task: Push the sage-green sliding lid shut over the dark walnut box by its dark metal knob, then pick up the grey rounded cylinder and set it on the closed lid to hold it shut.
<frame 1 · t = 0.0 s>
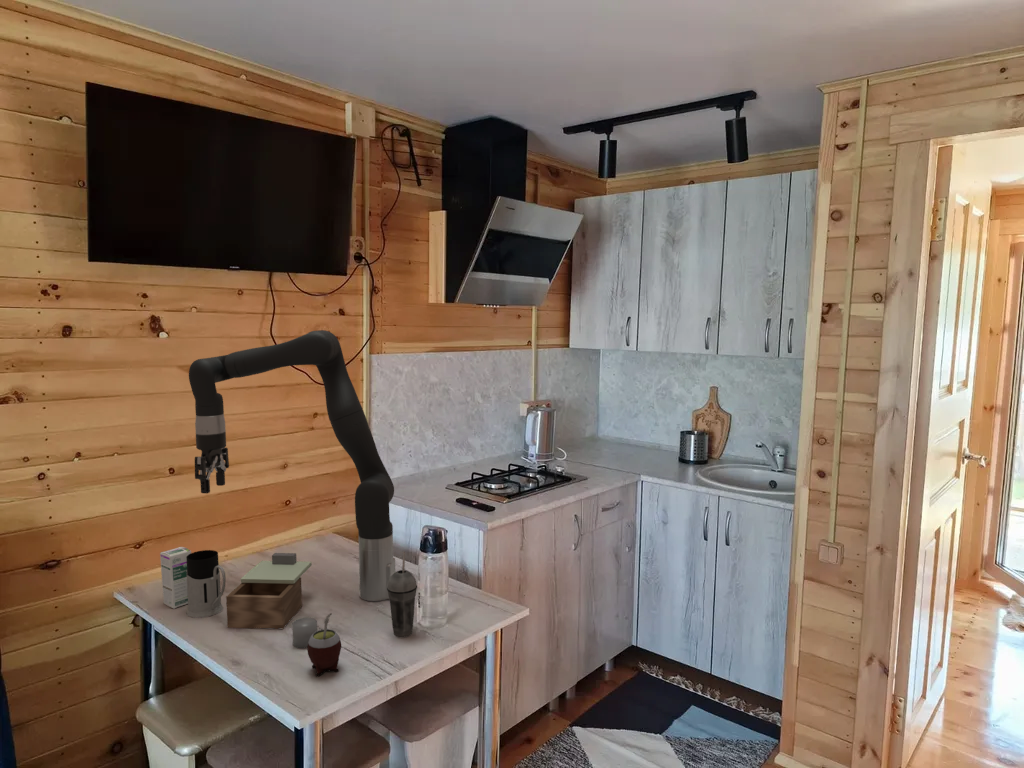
hand: (213, 489, 187), 29 cm above the table, tool pointing down, fingers open, 8 cm apart
grey rounded cylinder: (305, 642, 161), on the table
syrup box: (178, 603, 183), on the table
storage box: (266, 616, 174), on the table
lid: (277, 567, 181), point 10 cm above the table, slide at -8.0 cm
beverage cup: (402, 633, 165), on the table
glass holder: (210, 613, 177), on the table
mate gourd: (326, 671, 148), on the table
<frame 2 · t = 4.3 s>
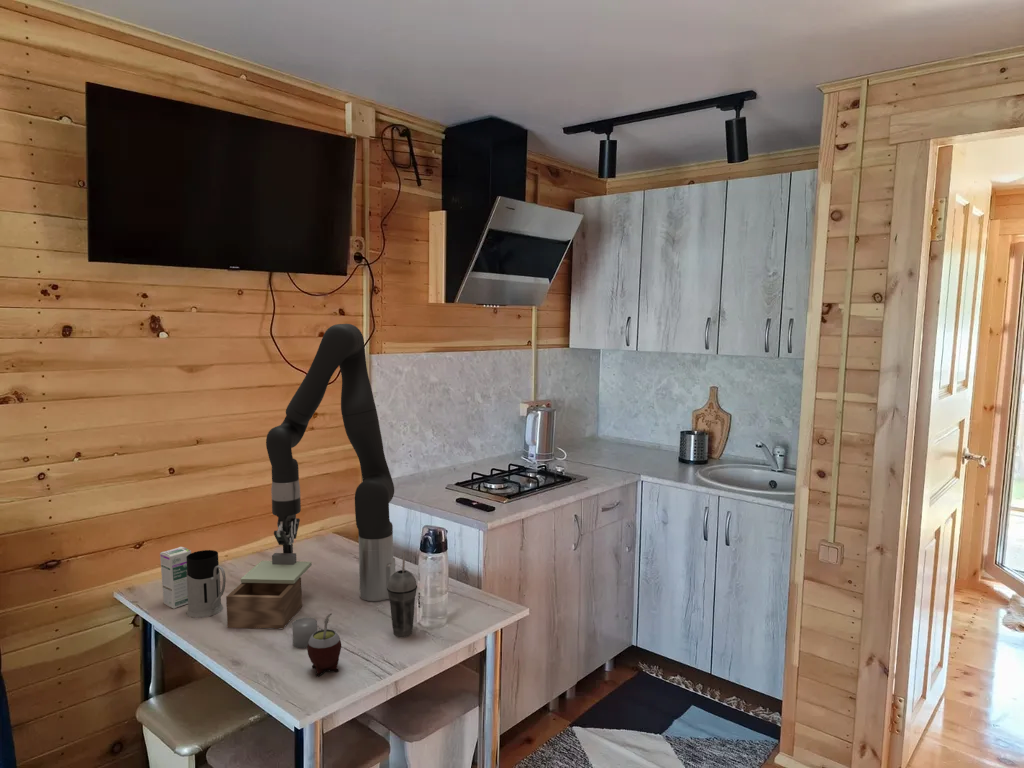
hand: (288, 557, 189), 10 cm above the table, tool pointing down, fingers closed
lid: (277, 567, 181), point 10 cm above the table, slide at -8.0 cm, touching gripper
everything else where it was.
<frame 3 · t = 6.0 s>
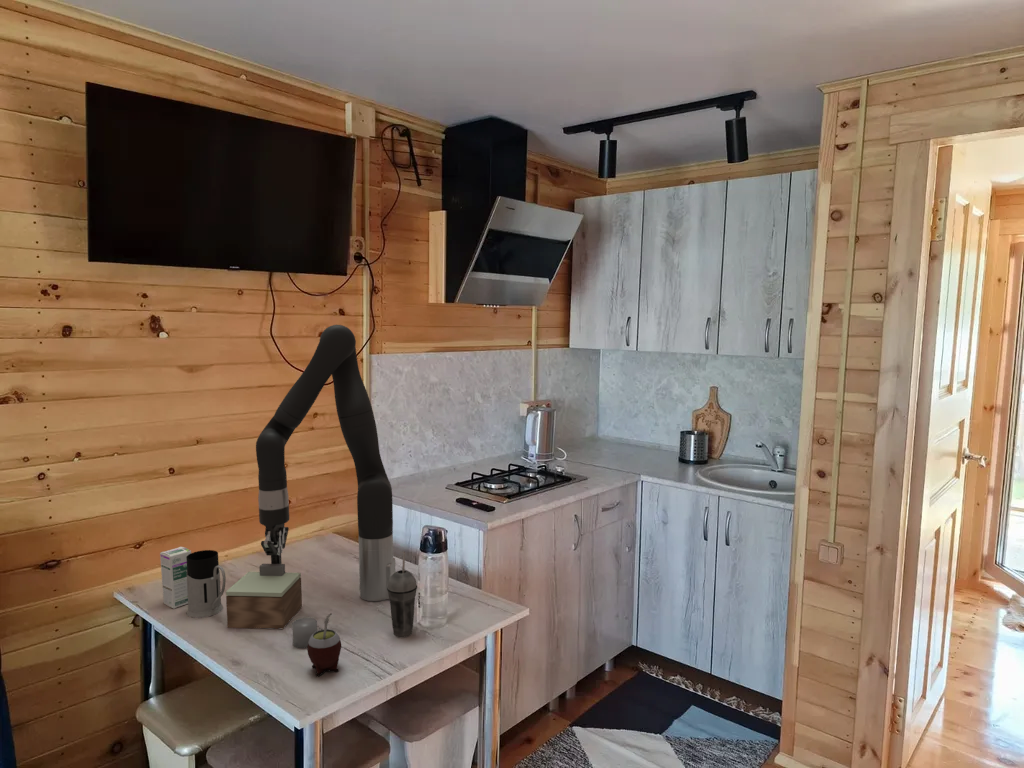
hand: (276, 567, 181), 10 cm above the table, tool pointing down, fingers closed
lid: (264, 579, 173), point 10 cm above the table, slide at 0.1 cm, touching gripper
everything else where it was.
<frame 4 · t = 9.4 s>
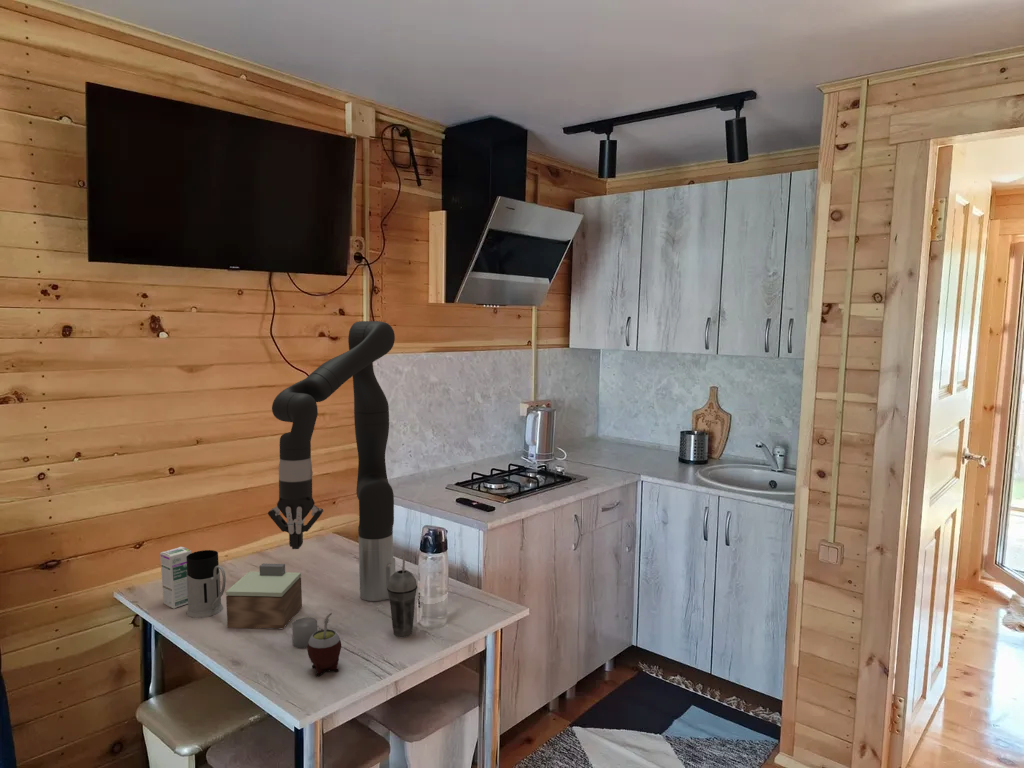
hand: (296, 548, 162), 22 cm above the table, tool pointing down, fingers closed
lid: (264, 578, 173), point 10 cm above the table, slide at 0.0 cm
everything else where it was.
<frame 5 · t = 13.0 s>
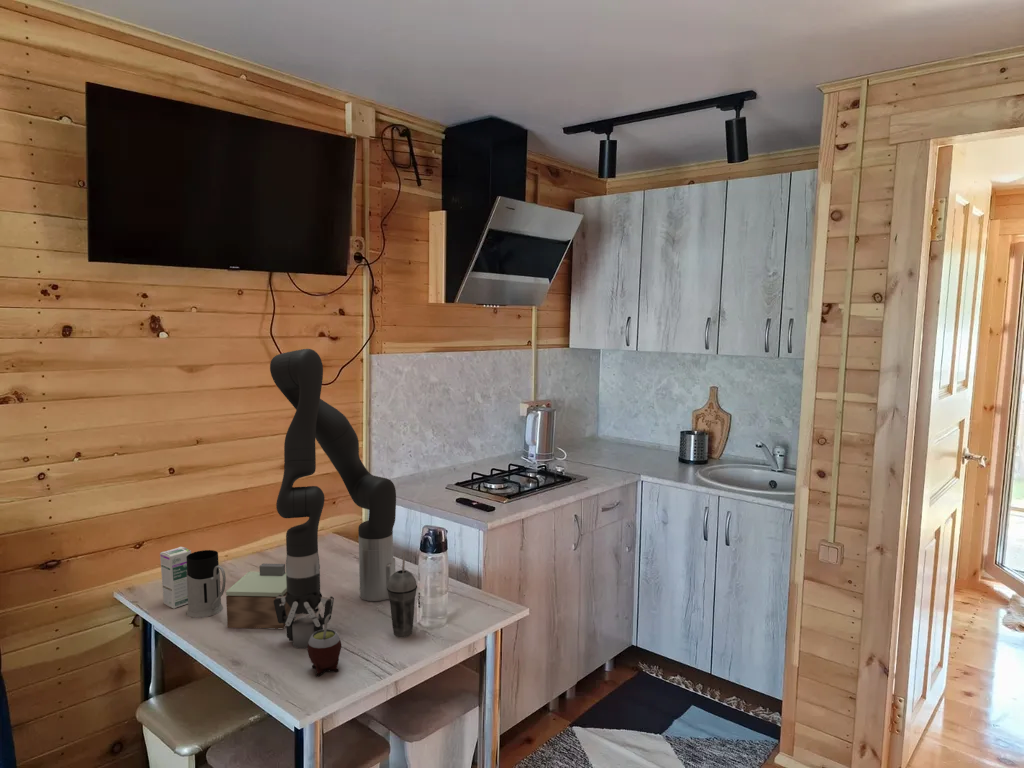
hand: (305, 639, 161), 1 cm above the table, tool pointing down, fingers closed on grey rounded cylinder, 5 cm apart
grey rounded cylinder: (305, 642, 161), on the table, touching gripper
everything else where it was.
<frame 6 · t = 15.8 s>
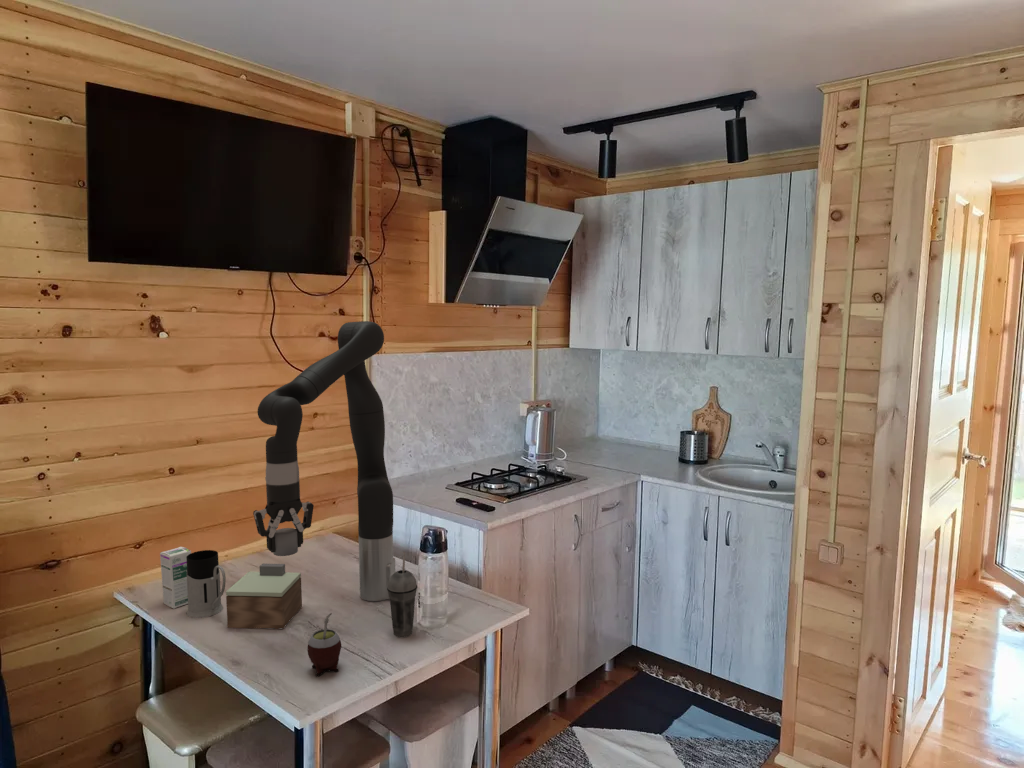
hand: (285, 548, 163), 21 cm above the table, tool pointing down, fingers closed on grey rounded cylinder, 5 cm apart
grey rounded cylinder: (285, 551, 163), point 21 cm above the table, touching gripper
everything else where it was.
when the fingers open (11 cm above the table, at t = 18.9 s): grey rounded cylinder drops 1 cm, resting on lid.
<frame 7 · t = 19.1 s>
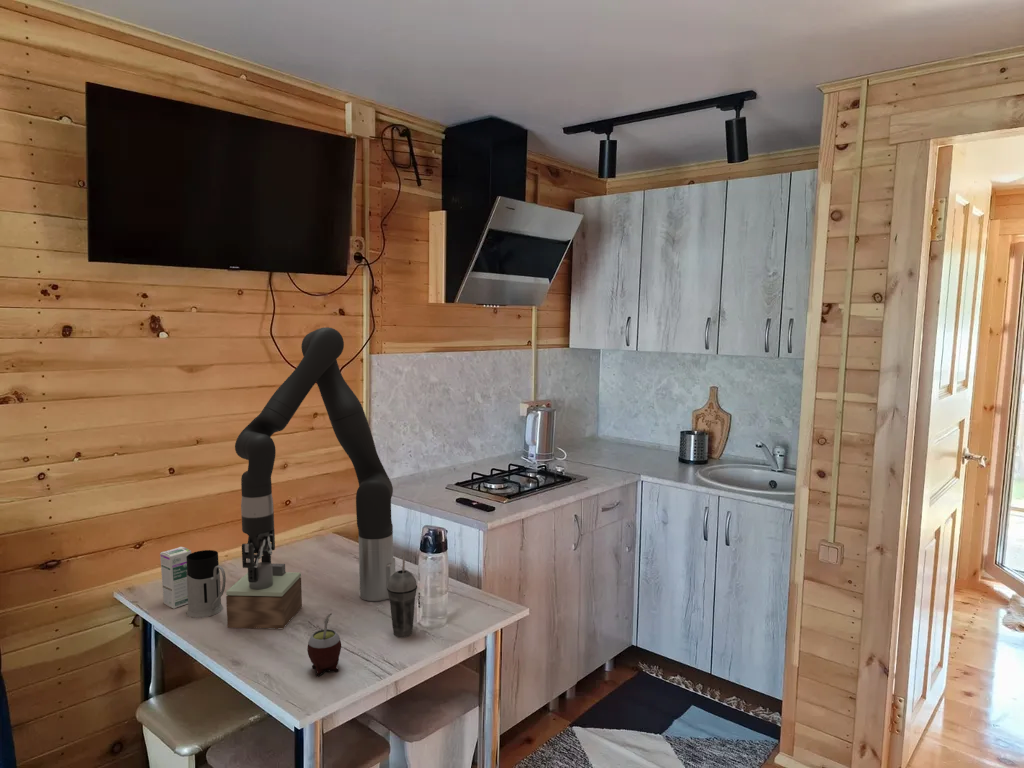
hand: (260, 575, 171), 12 cm above the table, tool pointing down, fingers open, 7 cm apart
grey rounded cylinder: (261, 585, 171), point 9 cm above the table, touching lid
lid: (264, 578, 173), point 10 cm above the table, slide at -0.1 cm, touching grey rounded cylinder
everything else where it was.
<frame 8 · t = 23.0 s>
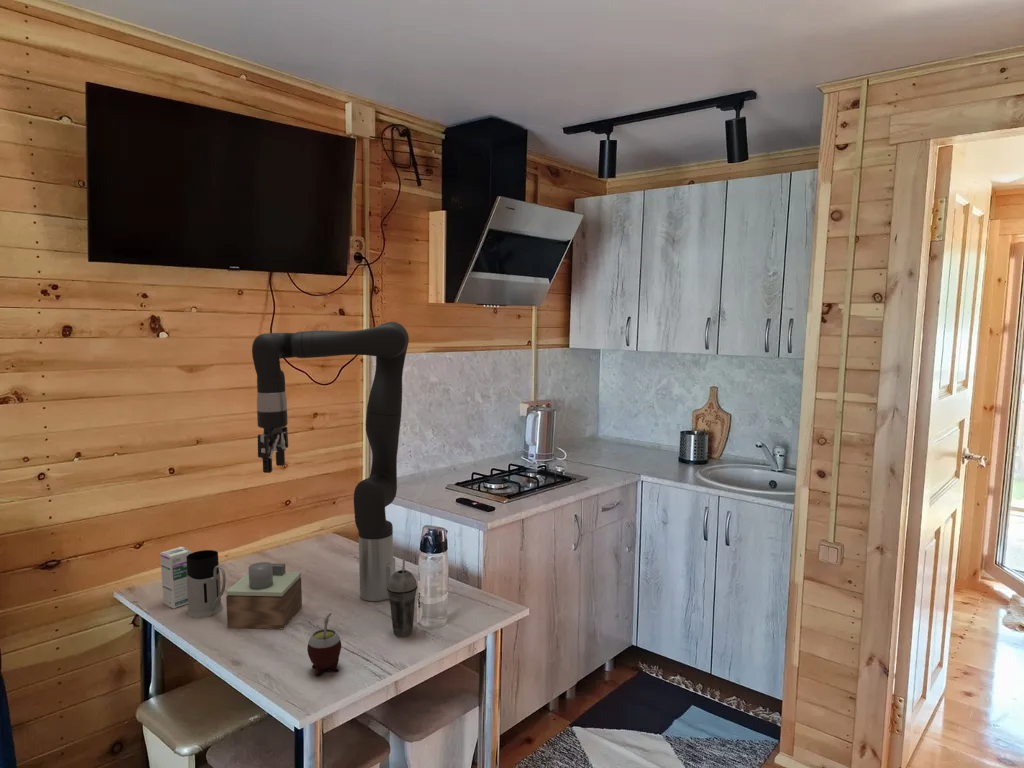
hand: (274, 468, 182), 36 cm above the table, tool pointing down, fingers open, 8 cm apart
nothing on the table moved.
at the end: lid slide at -0.1 cm; grey rounded cylinder inside the target area on the storage box (0.7 cm from its centre), point 9.3 cm above the storage box's base; grey rounded cylinder tilted 0° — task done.
